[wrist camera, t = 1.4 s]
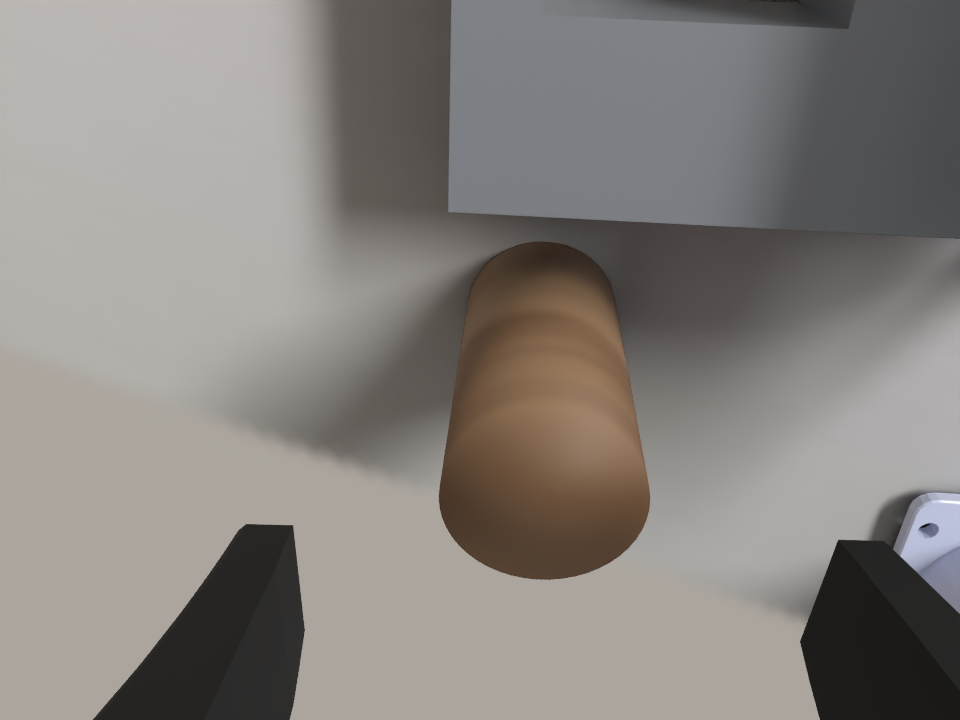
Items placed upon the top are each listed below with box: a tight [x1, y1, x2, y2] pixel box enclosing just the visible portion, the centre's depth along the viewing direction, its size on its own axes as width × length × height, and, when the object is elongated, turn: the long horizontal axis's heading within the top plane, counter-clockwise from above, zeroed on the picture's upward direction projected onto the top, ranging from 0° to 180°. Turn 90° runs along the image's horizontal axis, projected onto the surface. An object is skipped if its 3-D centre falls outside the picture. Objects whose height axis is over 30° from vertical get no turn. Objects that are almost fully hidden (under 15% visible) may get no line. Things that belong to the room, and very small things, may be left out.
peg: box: [439, 242, 650, 580], centre depth 17 cm, size 4×4×7 cm
